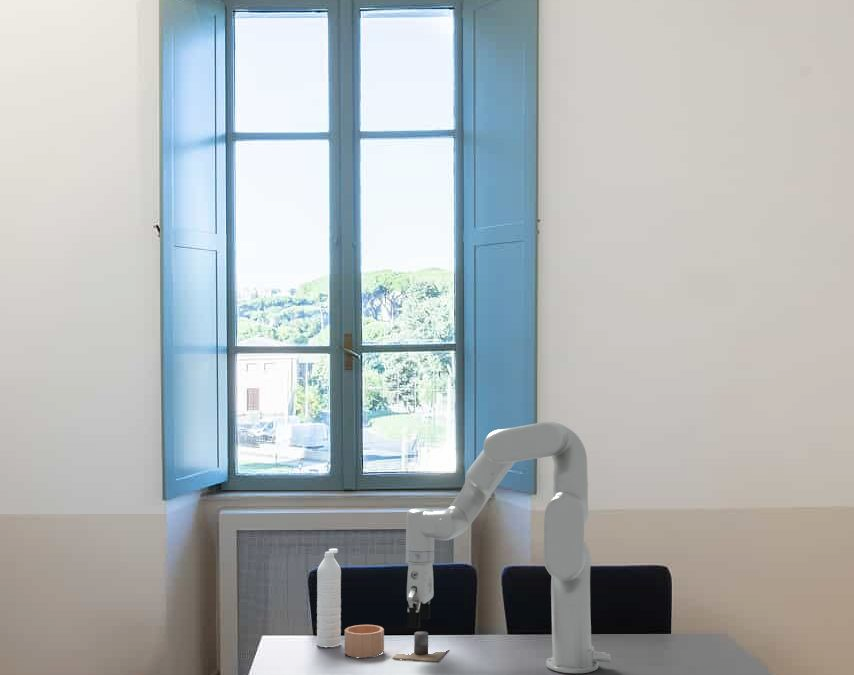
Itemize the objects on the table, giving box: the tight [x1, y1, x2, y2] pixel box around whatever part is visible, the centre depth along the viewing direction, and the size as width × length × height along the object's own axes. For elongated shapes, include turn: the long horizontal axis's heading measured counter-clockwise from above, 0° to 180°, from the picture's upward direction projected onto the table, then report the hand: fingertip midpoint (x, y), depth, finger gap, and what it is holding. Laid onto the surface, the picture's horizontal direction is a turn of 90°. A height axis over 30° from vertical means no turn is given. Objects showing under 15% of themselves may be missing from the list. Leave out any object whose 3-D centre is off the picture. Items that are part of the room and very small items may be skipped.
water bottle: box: [316, 548, 342, 646], centre depth 230 cm, size 9×6×25 cm
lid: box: [392, 630, 447, 664], centre depth 218 cm, size 12×12×6 cm
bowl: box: [344, 624, 385, 659], centre depth 220 cm, size 10×10×6 cm
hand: (418, 623), depth 219 cm, fingers open, 9 cm apart
